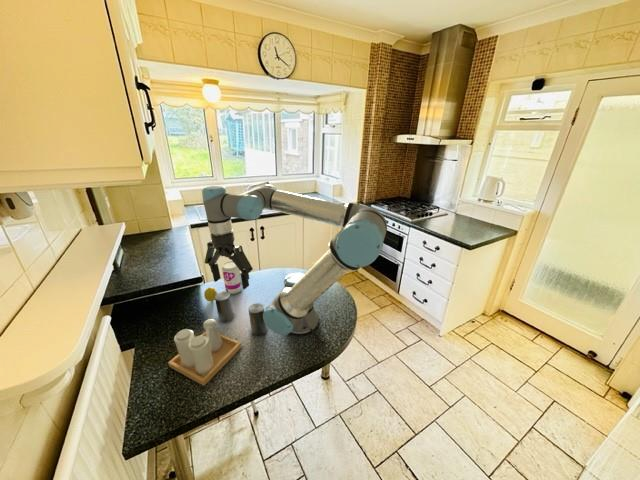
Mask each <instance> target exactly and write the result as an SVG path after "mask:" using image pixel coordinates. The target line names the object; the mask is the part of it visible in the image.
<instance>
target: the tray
mask: <svg viewBox="0 0 640 480" xmlns="http://www.w3.org/2000/svg"><path fill="white" fill-rule="evenodd" d="M219 335H220V337H221V339H222V346H221V348H220V349H219V351H217V352H214V353H213V352H211V353H212V358H213V362H214V368H213V369H212V370H211V371H210V372H209V373H208V374H207V375H204V376H199V375H197V374H196V371H195V367H194V366H193V367H191V368H184V367H183V366H182V363H181V360H180V357H179V354H177V355H174V357H172V359H170V360H169V361H167V364H168V366H169V368H171V369H172V370H174V371H176V372H178V373H180V374H182V375H183V376H184V377H187V378H189V379H191V380H192V381H194V382H195V383H198V384H200V385H201V386H203V387H205V386H206V385H207V384H208V383H209V382H210V381H211V380H212V378H213V377H215V375H216V374H218V372H219V371H220V370H221V369H222V368H223V367H224V366H225V365H226V364H227V363H228V362H229V360H231V359H232V358H233V357H234V355H236V354H237V352H238V351H240V349H241V348H242V342H240V341H238V340H236V339H233V338H230V337H228V336H226V335H224V334H221V333H219ZM200 336H205V337H206V330H205V331H204V332H203V333H202V334H201V335H200Z"/></svg>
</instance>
